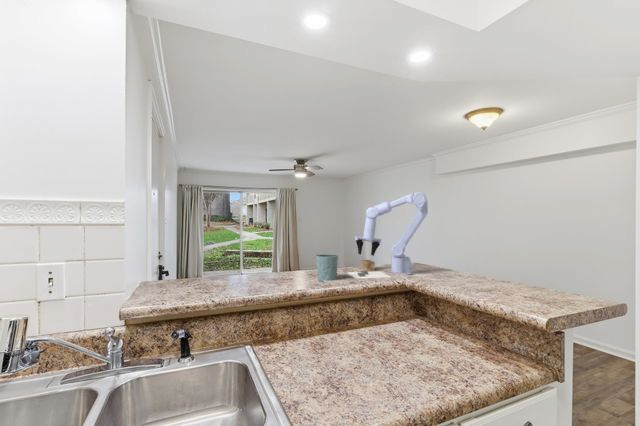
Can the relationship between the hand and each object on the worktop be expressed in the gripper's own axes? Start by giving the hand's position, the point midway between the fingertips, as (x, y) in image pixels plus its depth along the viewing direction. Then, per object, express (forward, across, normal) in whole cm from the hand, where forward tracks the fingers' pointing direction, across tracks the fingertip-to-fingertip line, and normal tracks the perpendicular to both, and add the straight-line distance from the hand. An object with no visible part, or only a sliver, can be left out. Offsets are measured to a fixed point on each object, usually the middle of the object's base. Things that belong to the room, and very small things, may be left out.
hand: (366, 254), depth 161 cm
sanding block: (+9, -2, +1) cm, 10 cm away
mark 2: (+8, +5, +11) cm, 15 cm away
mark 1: (+8, +9, +16) cm, 19 cm away
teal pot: (+12, +26, +17) cm, 33 cm away
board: (+9, +4, +14) cm, 17 cm away
